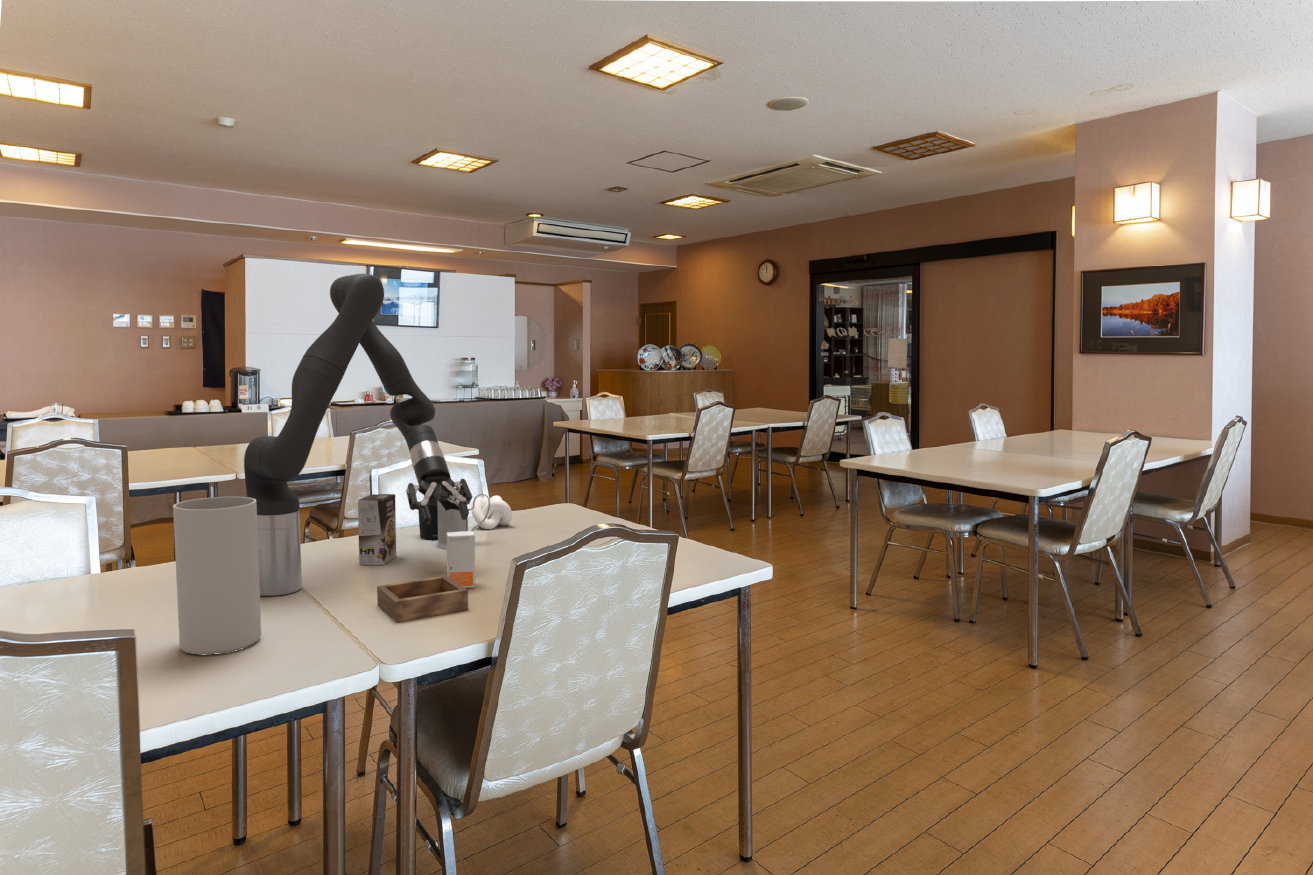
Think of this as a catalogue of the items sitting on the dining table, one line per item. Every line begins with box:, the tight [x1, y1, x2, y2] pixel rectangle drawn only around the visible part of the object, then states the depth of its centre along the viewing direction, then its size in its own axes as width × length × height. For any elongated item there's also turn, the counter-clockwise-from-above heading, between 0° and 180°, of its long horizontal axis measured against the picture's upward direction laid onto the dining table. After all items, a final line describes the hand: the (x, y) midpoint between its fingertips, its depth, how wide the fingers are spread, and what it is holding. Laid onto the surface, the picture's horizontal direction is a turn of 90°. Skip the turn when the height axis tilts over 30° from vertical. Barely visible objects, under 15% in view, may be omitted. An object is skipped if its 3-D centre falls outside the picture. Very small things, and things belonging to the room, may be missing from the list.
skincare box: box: [446, 530, 476, 589], centre depth 174 cm, size 6×4×12 cm
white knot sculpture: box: [470, 494, 513, 530], centre depth 236 cm, size 11×12×9 cm
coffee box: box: [357, 493, 397, 566], centre depth 195 cm, size 9×6×16 cm
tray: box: [376, 575, 469, 623], centre depth 159 cm, size 14×12×4 cm
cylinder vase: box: [172, 496, 262, 655], centre depth 137 cm, size 12×12×25 cm
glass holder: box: [436, 487, 490, 550], centre depth 212 cm, size 9×14×15 cm, turn 107°
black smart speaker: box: [418, 500, 438, 541], centre depth 222 cm, size 9×9×10 cm
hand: (447, 520), depth 180 cm, fingers open, 8 cm apart
